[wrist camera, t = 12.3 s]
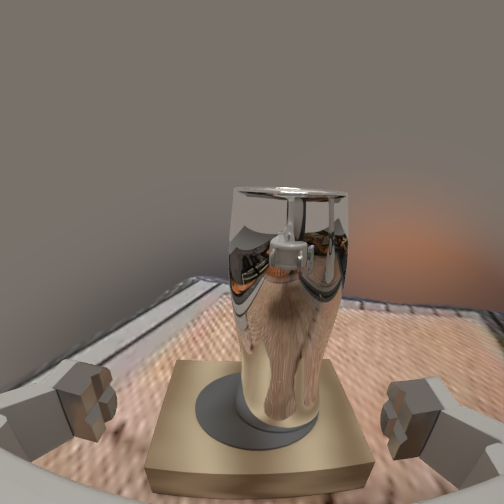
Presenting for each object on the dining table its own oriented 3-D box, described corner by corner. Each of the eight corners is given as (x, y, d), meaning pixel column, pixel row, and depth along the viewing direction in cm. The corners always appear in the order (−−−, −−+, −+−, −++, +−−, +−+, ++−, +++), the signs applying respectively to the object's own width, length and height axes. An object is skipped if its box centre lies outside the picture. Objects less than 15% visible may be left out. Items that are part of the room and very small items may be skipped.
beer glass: (231, 377, 25) (233, 185, 22) (316, 377, 25) (335, 189, 22) (226, 436, 18) (224, 190, 15) (333, 434, 18) (370, 196, 15)
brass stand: (325, 384, 29) (329, 356, 28) (364, 487, 16) (376, 458, 16) (179, 385, 29) (176, 356, 28) (153, 492, 16) (143, 464, 15)
